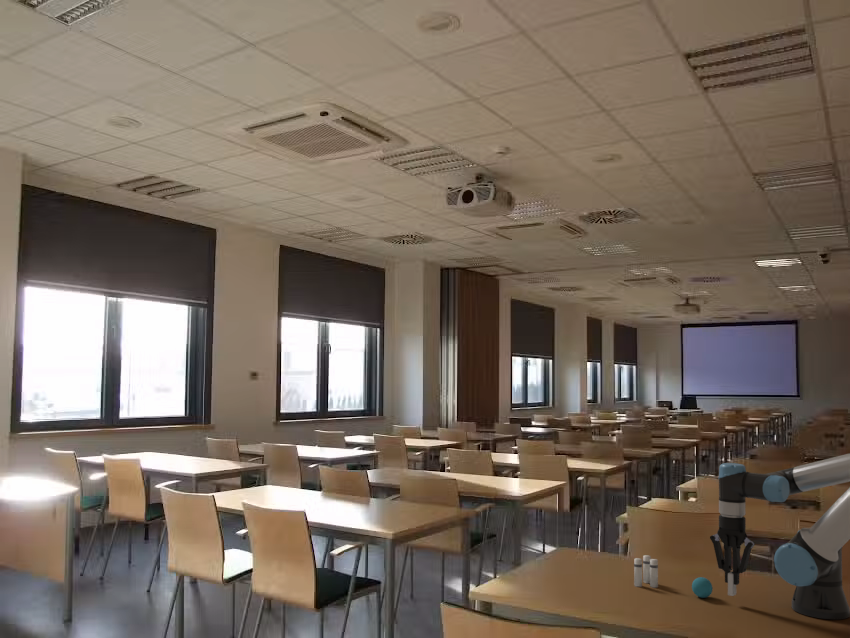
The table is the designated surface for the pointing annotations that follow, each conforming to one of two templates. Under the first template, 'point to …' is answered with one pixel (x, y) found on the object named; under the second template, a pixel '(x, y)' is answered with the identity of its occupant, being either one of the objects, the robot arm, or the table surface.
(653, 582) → the front pin
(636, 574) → the pin
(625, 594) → the table surface
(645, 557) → the pin
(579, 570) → the table surface
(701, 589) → the ball
